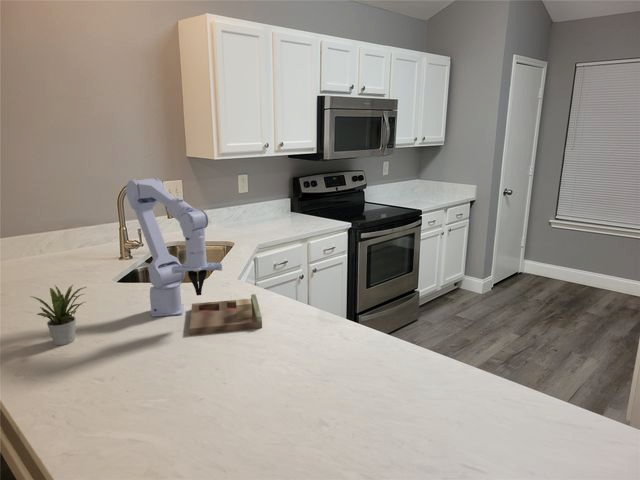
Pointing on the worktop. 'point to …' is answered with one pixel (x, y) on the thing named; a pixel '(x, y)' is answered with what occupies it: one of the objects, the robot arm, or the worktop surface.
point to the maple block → (244, 308)
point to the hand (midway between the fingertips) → (199, 294)
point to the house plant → (61, 316)
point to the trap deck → (222, 317)
